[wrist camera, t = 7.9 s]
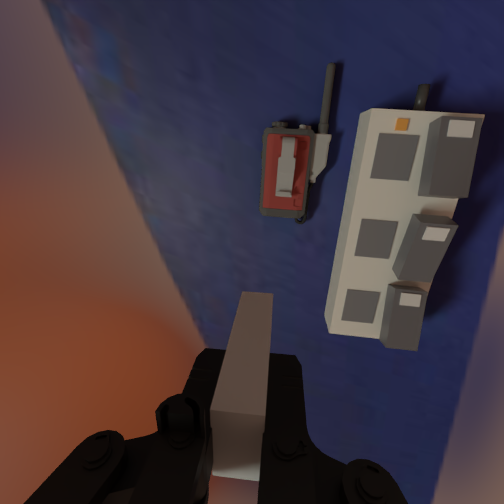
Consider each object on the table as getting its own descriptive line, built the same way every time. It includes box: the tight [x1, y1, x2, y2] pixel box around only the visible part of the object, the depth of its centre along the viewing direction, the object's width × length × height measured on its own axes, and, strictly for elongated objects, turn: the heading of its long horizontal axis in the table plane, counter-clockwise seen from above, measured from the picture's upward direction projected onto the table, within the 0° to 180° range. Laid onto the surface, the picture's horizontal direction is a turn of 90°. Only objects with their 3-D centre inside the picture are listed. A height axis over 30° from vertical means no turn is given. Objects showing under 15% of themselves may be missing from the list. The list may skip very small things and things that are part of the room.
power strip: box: [324, 84, 485, 339], centre depth 38 cm, size 33×12×5 cm, turn 176°
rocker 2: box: [392, 214, 459, 283], centre depth 34 cm, size 8×4×3 cm, turn 176°
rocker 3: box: [379, 284, 428, 351], centre depth 37 cm, size 8×4×3 cm, turn 177°
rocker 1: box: [418, 116, 483, 199], centre depth 30 cm, size 8×4×3 cm, turn 177°
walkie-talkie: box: [259, 63, 336, 224], centre depth 37 cm, size 9×4×20 cm
